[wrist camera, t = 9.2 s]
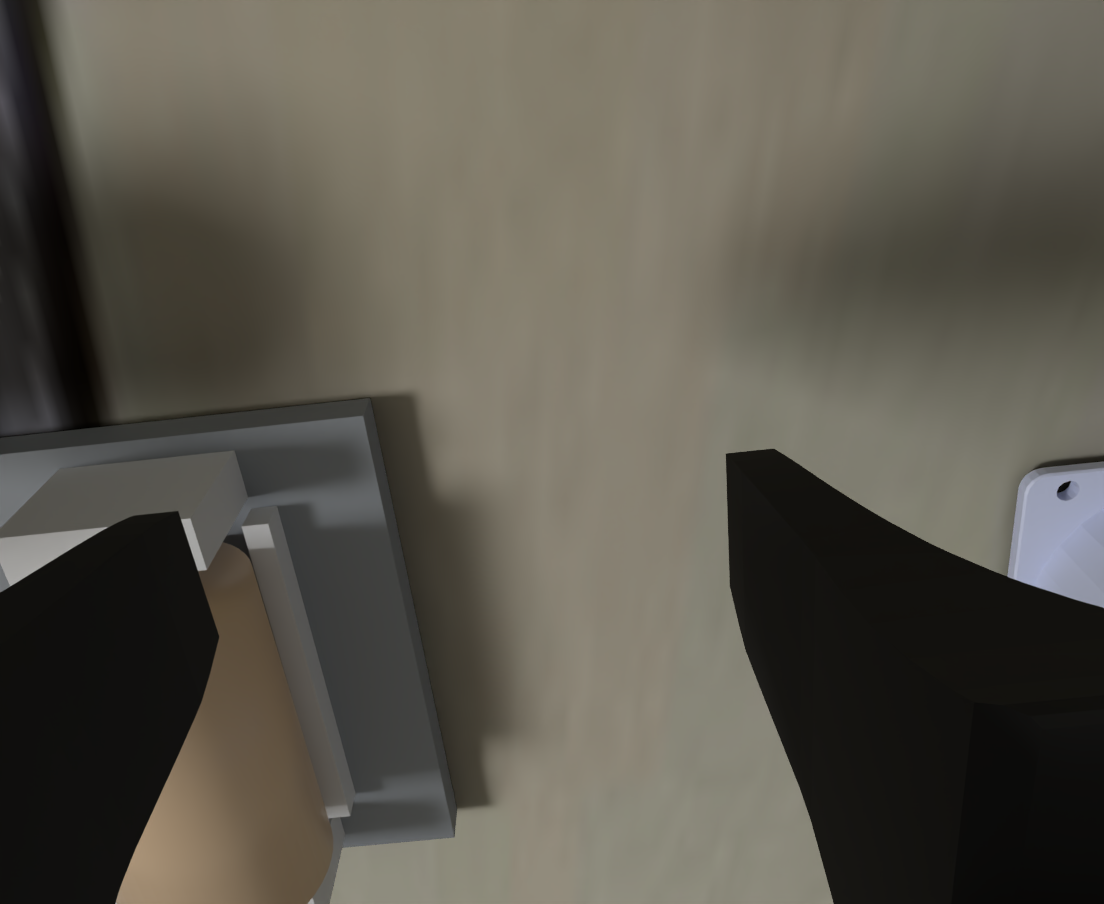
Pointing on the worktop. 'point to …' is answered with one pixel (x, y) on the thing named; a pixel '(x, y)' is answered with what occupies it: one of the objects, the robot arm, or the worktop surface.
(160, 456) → the holder
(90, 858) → the robot arm
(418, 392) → the worktop surface
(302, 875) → the beige rounded cylinder
